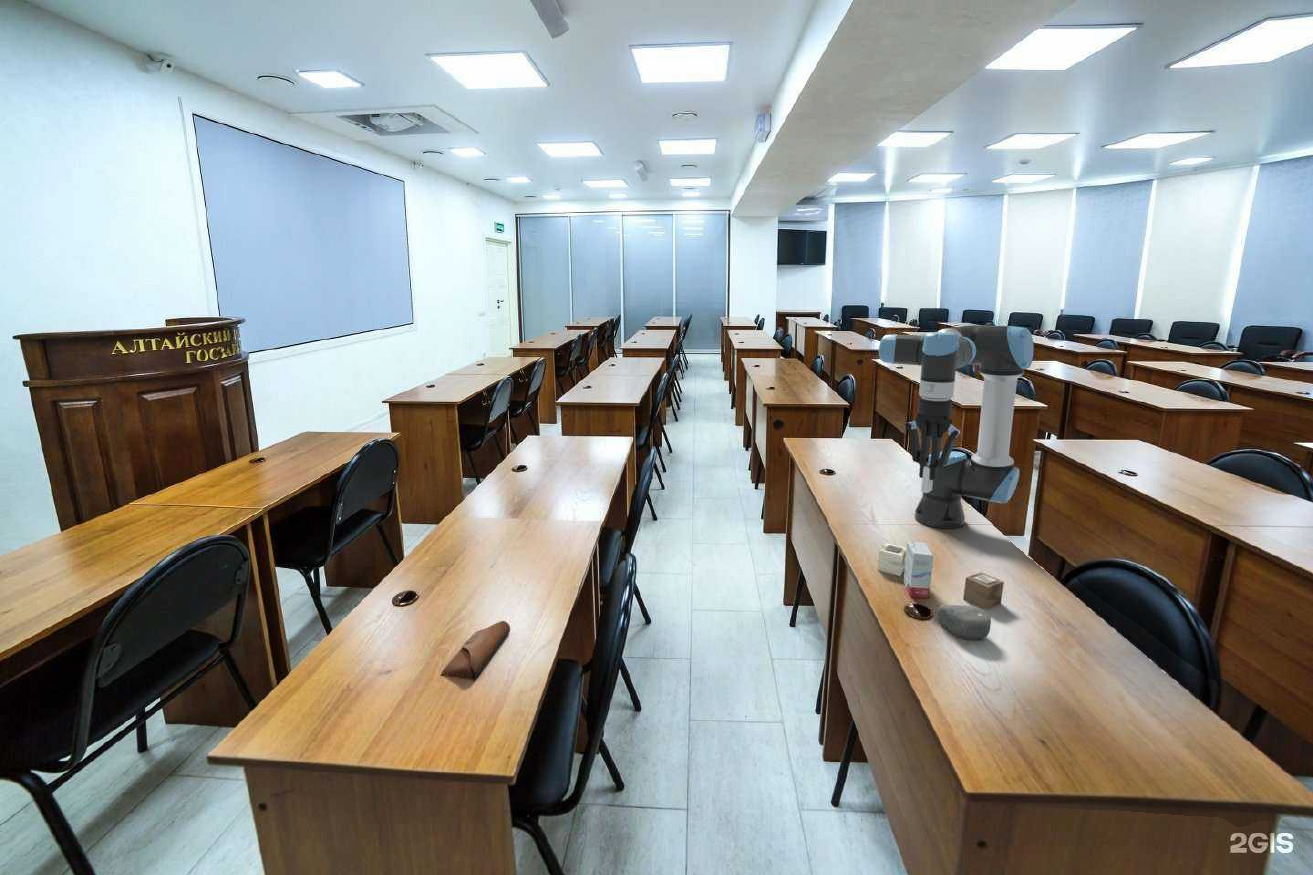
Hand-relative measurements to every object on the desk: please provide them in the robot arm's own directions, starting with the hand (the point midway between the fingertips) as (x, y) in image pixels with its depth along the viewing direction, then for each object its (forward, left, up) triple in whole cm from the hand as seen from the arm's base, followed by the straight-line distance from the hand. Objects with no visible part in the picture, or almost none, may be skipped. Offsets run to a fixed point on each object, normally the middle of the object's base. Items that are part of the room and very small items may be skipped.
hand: (926, 491), depth 153 cm
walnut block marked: (-6, +14, -27) cm, 31 cm away
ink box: (0, 0, -27) cm, 27 cm away
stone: (+11, +16, -27) cm, 33 cm away
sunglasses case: (+96, -53, -28) cm, 113 cm away
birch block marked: (-7, -10, -27) cm, 30 cm away
